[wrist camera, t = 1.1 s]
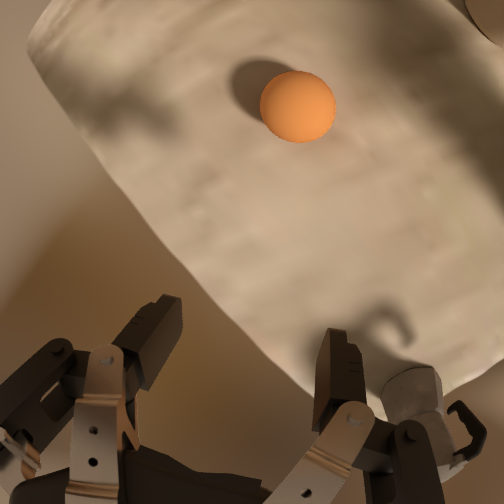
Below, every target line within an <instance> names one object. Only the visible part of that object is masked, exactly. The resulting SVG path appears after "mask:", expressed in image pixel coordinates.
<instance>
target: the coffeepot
mask: <svg viewBox="0 0 504 504" xmlns="http://www.w3.org/2000/svg"><path fill="white" fill-rule="evenodd" d="M380 399H381V401H382V404H383V407H384V410H385V413H386V416H387V419H388V422H389V423H391V424H394V425H398V424H399V423H400V422H402V421H404V420H415V421H418V422H419V423H421V424H422V425H423V426H424V427H425V429H426V431H427V433H428V437H429V440H430V443H431V447H432V450H433V454H434V458H435V461H436V465H437V469H438V473H439V477H440V482H441V483H443V482H444V481H446V480H448V479H450V478H451V477H452V476H454V475H455V474H456V473H458V472H459V471H460V470H461V469H463V468H464V466H463V465H464V464H466V463H467V462H469V461H470V460H472V459H473V458H475V457H476V456H478V455H479V454H480V452H481V450H482V448H483V445H484V443H485V440H486V437H487V431H486V428H485V427H484V425H483V424H482V423H481V422H480V421H479V420H478V419H477V418H476V417H475V415H474V414H473V413H472V412H471V411H470V410H469V409H468V407H467V406H466V405H465V404H464V403H463V402H462V401H460V400H458V401H456V402H454V403H453V404H452V405H451V406H450V407H449V408H448V409H447V414H448V415H449V414H451V413H452V412H454V411H457V413H458V416H459V419H460V420H461V422H463V423H464V424H465V425H466V428H467V430H468V432H469V434H470V435H471V436H472V437H473V439H472V442H471V444H470V445H468V446H467V447H464V448H462V449H460V450H458V451H457V448H456V446H455V443H454V441H453V438H452V436H451V433H450V431H449V429H448V427H447V426H446V424H445V423H444V421H443V416H444V404H443V392H442V382H441V379H440V377H439V375H438V373H437V372H436V371H435V370H434V368H428V367H418V368H413V369H410V370H407V371H404V372H402V373H400V374H398V375H397V376H395V377H394V378H392V379H391V380H390V381H388V383H387V384H386V385H385V387H384V389H383V392H382V395H381V397H380Z"/></svg>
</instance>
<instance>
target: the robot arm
mask: <svg viewBox="0 0 504 504" xmlns="http://www.w3.org/2000/svg"><path fill="white" fill-rule="evenodd" d="M182 328H183V320H182V302H181V298H179V297H175V296H171V295H166V294H163V295H162V296H161V297H160V298H159V300H158V301H157V302H156V303H152V302H150V303H148V304H147V305H145V306H143V307H142V308H140V310H139V311H138V312H137V313H136V314H135V317H133V318H132V319H131V320H130V323H128V324H127V325H126V326H125V328H124V329H123V330H122V331H121V332H120V334H119V335H118V336H117V337H116V338H115V340H114V341H113V342H112V343H111V344H104V345H100V346H98V347H96V348H95V349H93V351H92V352H87V351H79V350H74V349H73V346H72V344H71V342H70V341H69V340H67V339H64V338H57V339H53V340H51V341H49V342H48V343H47V344H46V345H44V346H43V347H42V348H41V349H40V350H39V351H38V352H37V353H35V354H34V355H33V356H32V357H31V358H30V359H28V360H27V361H26V362H25V363H24V364H23V365H22V366H21V367H20V368H18V369H17V370H16V371H15V372H14V373H13V374H12V375H11V376H10V377H9V378H8V379H6V380H5V381H4V382H3V383H2V384H1V385H0V485H1V486H2V487H3V489H4V490H5V491H6V492H7V493H8V494H9V496H10V500H9V504H330V503H331V501H332V500H333V498H334V497H335V495H336V494H337V492H338V491H339V489H340V488H341V486H342V485H343V483H344V482H345V480H346V479H347V477H348V475H349V473H350V467H351V466H352V467H355V468H358V469H361V470H363V477H364V485H365V494H366V504H445V500H444V495H443V490H442V486H441V482H440V477H439V473H438V469H437V465H436V461H435V458H434V454H433V450H432V447H431V443H430V440H429V437H428V433H427V431H426V429H425V427H424V426H423V425H422V424H421V423H419V422H418V421H415V420H404V421H402V422H400V423H399V424H398V425H394V424H391V423H388V422H385V421H382V420H380V419H378V418H377V417H375V416H374V413H373V411H372V409H371V408H370V407H369V406H367V401H366V390H365V380H364V374H363V372H364V371H363V365H362V364H363V362H362V354H361V352H360V351H359V349H358V347H357V346H356V344H350V343H347V334H346V331H345V330H339V329H332V328H328V329H327V331H326V334H325V337H324V340H323V343H322V346H321V349H320V351H319V354H318V358H317V363H316V376H315V393H314V409H313V421H312V431H316V432H319V438H318V439H317V440H316V442H315V443H314V445H313V446H312V447H311V448H310V449H309V451H308V452H307V453H306V454H305V455H304V457H303V458H302V459H301V460H300V462H299V463H298V464H297V465H296V467H295V468H294V469H293V470H292V471H291V473H290V474H289V475H288V476H287V477H286V479H285V480H284V481H283V482H282V483H281V484H280V485H279V486H278V488H277V489H276V490H275V491H274V492H272V491H271V490H268V489H267V488H265V487H262V486H261V481H262V480H259V479H254V478H249V477H244V476H239V475H235V474H229V473H228V474H227V473H203V472H196V471H193V470H191V469H190V468H188V467H186V466H185V465H183V464H181V463H179V462H178V461H176V460H174V459H173V458H171V457H170V456H168V455H166V454H163V453H160V452H158V451H155V450H152V449H150V448H147V447H144V446H142V445H141V444H140V440H139V436H138V417H137V396H136V393H137V392H138V390H139V389H140V388H141V389H143V390H146V391H149V389H150V388H151V386H152V384H153V383H154V381H155V379H156V377H157V376H158V374H159V372H160V370H161V369H162V367H163V365H164V364H165V362H166V360H167V359H168V357H169V355H170V353H171V352H172V350H173V348H174V346H175V345H176V343H177V341H178V340H179V338H180V336H181V333H182ZM56 382H58V385H57V386H56V387H55V388H54V389H53V390H52V391H51V393H49V394H48V395H47V396H46V397H45V398H44V400H42V402H40V400H41V398H42V396H43V395H44V394H45V393H46V392H47V391H48V390H49V389H50V388H51V387H52V386H53V385H54V384H55V383H56ZM72 417H73V425H72V436H71V450H70V451H71V452H70V467H68V468H65V469H62V470H59V471H56V472H52V473H49V474H46V475H43V476H39V477H35V474H36V472H38V471H40V470H41V463H40V454H41V453H42V452H43V450H44V449H45V448H46V447H47V446H48V445H49V443H50V442H51V441H52V440H53V439H54V438H55V437H56V435H57V434H58V433H59V432H60V431H61V430H62V429H63V428H64V426H65V425H66V424H67V423H68V422H69V421H70V420H71V419H72Z"/></svg>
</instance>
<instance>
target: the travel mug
mask: <svg viewBox="0 0 504 504" xmlns="http://www.w3.org/2000/svg"><path fill="white" fill-rule="evenodd" d="M465 4H466V7H467V9H468V11H469V13H470V15H471V17H472V19H473V20H474V22H475V23H476V25H477V26H478V27H479V28H480V30H481V31H482V32H483V33H484V34H485V35H486V36H487V37H488V38H489V39H490V40H491V41H493V42H494V43H495V44H497V45H498V46H500V47H502V48H504V0H465Z"/></svg>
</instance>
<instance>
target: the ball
mask: <svg viewBox="0 0 504 504" xmlns="http://www.w3.org/2000/svg"><path fill="white" fill-rule="evenodd" d="M260 112H261V116H262V119H263V121H264V123H265V125H266V126H267V127H268V129H269V130H270V131H271V132H272V133H274V134H275V135H276V136H278V137H279V138H281V139H283V140H286V141H290V142H295V143H304V142H309V141H313V140H315V139H317V138H319V137H321V136H322V135H323V134H325V133H326V132H327V131H328V129H329V128H330V127H331V125H332V123H333V121H334V118H335V114H336V102H335V98H334V95H333V93H332V91H331V89H330V88H329V87H328V85H327V84H326V83H325V82H324V81H323V80H321V79H320V78H319V77H317V76H315V75H313V74H311V73H308V72H303V71H290V72H285V73H282V74H280V75H278V76H276V77H275V78H273V79H272V80H271V81H270V82H269V83H268V84H267V85H266V87H265V88H264V90H263V92H262V95H261V98H260Z"/></svg>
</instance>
